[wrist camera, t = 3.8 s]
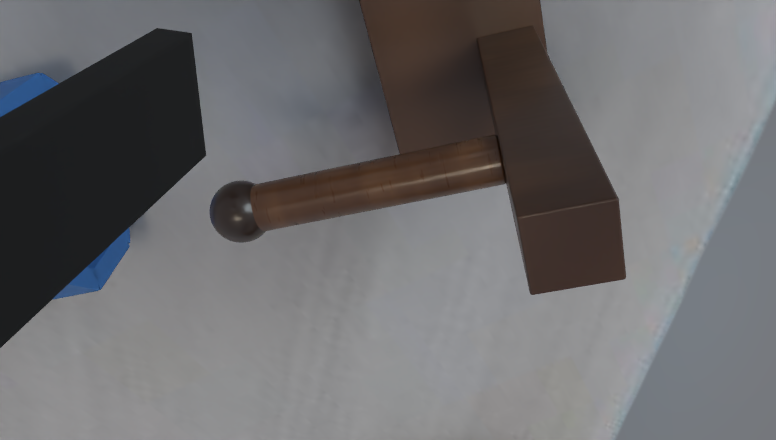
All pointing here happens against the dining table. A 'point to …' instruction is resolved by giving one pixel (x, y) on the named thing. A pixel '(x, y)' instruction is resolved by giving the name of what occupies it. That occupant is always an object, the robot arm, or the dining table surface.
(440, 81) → the stand
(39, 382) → the dining table surface
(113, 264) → the tape
